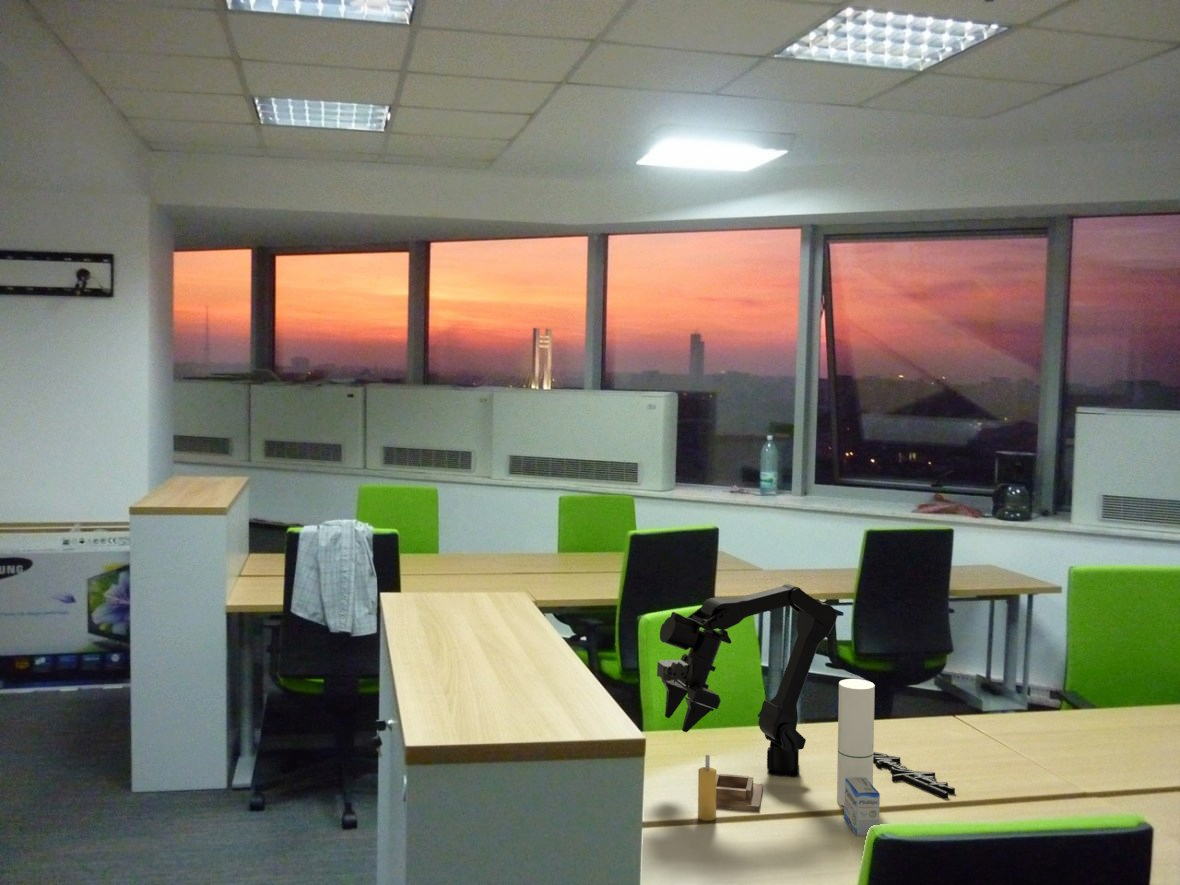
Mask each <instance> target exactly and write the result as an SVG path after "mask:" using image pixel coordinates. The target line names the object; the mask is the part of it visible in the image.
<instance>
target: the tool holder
mask: <svg viewBox="0 0 1180 885" xmlns="http://www.w3.org/2000/svg"><path fill="white" fill-rule="evenodd" d="M763 790H764V784H763V783H758V782H757V783H754V777H753V776H752V777H751V776H749V775H739V774H728V773H718V774H717V773H716V808H719V809H729V808H731V809H730V810H739V809H740V810H741V811H750V810H753V811H752V812H760V809H761V801H762V797H763ZM743 809H744V810H743Z"/></svg>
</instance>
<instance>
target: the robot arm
mask: <svg viewBox="0 0 1180 885" xmlns="http://www.w3.org/2000/svg"><path fill="white" fill-rule="evenodd" d="M785 607H790V608H791V609H792V610H793V611H795V612H797V618H796V629H797V630H796V631H797V636H796V640H795V642H794V646H793V648H792V651H791V653H790V656H789V659H788V661H787V665H786V666H785V667H786V668H785V670H784V674H783V675H782V678H781V681H780V683H779V686H778V690H777V692H776V695H775V696H774V697H773V698H772V699H771V700H770V701H768V700H767V699H764V700H763V702H762V706H761V710H760V711H759V713H758V714H757V717H758V722H757V723H758V724H757V725H758V727H759V729H760V730H761V732H762V733H763V734H764V737H765V739H766V740H768V741H770V742H769V746H768V747H767V751H766V752H767V753H766V760H767V761H766V769H767V770H768V775H771V776H782V777H790V778H791V777H795V778H798V777H800V776H799V775H800V764H799V757H800V753H799V752H800V750H804V748H805V745H806V742H807V741H806V738H805V737H804V736H803V735H802V734H801V733H800V732H799V731H798V730H797V726H798V723H799V722H798V721H799V715H798V713H799V712H798V703H799V699H800V697H801V695H802V691H803V689H804V685H805V683H806V680H807V677H808V675H809V672H810V669H811V667H812V663H813V661H814V658H815V655H816V652H817V649H818V648H819V645H820V644H821V642H822V641H824V640H825V639H826V638H827V637H828V636H829V635H830V633H831V631H832V630H833V627H834V626H835V624H836V622H837V613H836V610H835V608H834V607H833V606H832V605H831V604H828V603H825V602H822V601H819V600H817V599H815V598H814V597H812V596H811V595H809V594H807V593H806V592H805V591H804V590H802V588H800V587H798V586H796V585H793V584H790V583H786V584H783V585H781V586H779V587H775V588H771V589H767V590H762V591H759V592H755V593H752V594H748V595H743V596H740V597H727V596H723V597H722V596H720V597H710V598H708V599H705V600H704V601H703V604H702V605H701V606H700V607H698V609H697V610H695V611H694V612H692V613H691V614H690V615H688V616H684V615H682V614H680V613H677V612H675V611H672V612H671V614H670V616H668V617H667V618H666V619H665V621H664V622H663V623H662V624H661V626H660V631H659V640H660V642H661V643H664V644H667V645H670V646H672V647H674V648H678V649H681V650H684V651H687V650H689V651H688V654H686V653H684V654H682V656H681V658H680V659H665V660H658V661H657V668H656V669H657V670H656V676H657V677H658V678H660V679H661V683H662V684H663V685H664V687H665V690H666V696H665V697H666V698H665V711H664V716H665V718H667V719H671V717H672V716H673V715H674V713H675V712H676V711H677V709H678V707H679V706H680V704H681V703H682V701H684V699H685V702H686V704H687V708H686V712H685V716H684V719H683V720H684V721H683V723H682V729H681V731H682V732H684V733H688V732H689V731H690V730H691V729H692V728H693V727H694V726H695V725H697V723H698V722H699V721H701V720H702V719H703V718H704V717H705V716H706V715H708V714H709V713H710V712H713V711H714V709H715V710H718V709H719V706H720V704H721V702H722V701H721V698H720V695H719V694H717V693H716V692H715V691H713V690H711V689H709V687H710V685H709V684H708V683H707V681H708V678H709V675H710V674H711V672H715V671H716V668H717V667H716V666H715V665H714V663H715V660H716V658H717V655H718V653H719V650H720V646H721V644H722V642H724V643H726V644H729V645H730V644H732V640H731V637H730V636H729V633H728V632H729V631H727V629H730V628H732V627H734V626H736V625H738V624H740V623H741V622H742V621H743V620H744V619H746V618H748V617H752V616H755V615H758V614H763V613H766V612H770V611H774V610H777V609H782V608H785ZM701 628H702V629H701ZM716 629H717V630H716ZM686 696H687V697H686Z"/></svg>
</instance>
